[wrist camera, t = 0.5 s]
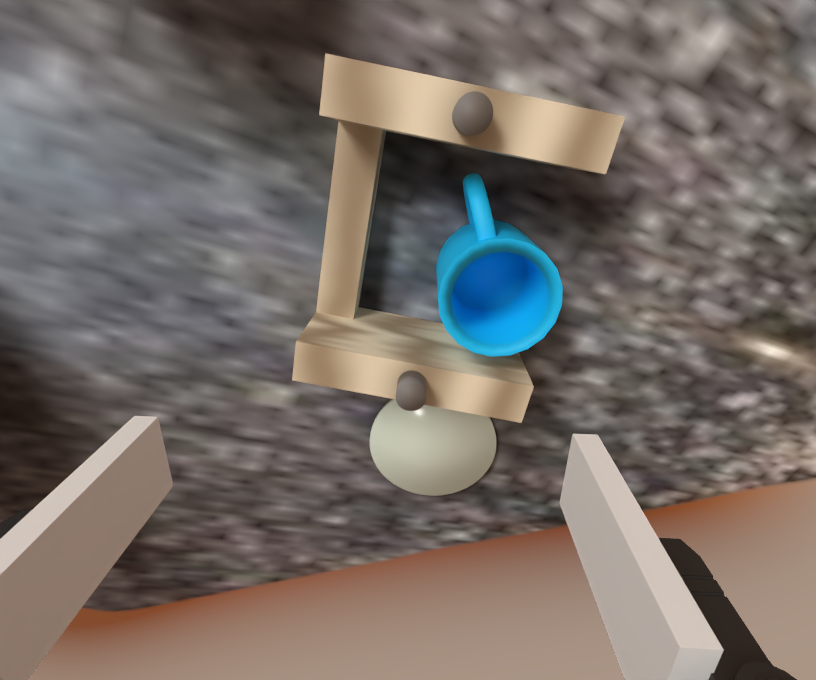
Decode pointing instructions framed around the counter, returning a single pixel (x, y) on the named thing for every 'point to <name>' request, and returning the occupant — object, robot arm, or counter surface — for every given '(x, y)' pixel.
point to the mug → (495, 282)
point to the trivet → (431, 448)
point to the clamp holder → (352, 218)
